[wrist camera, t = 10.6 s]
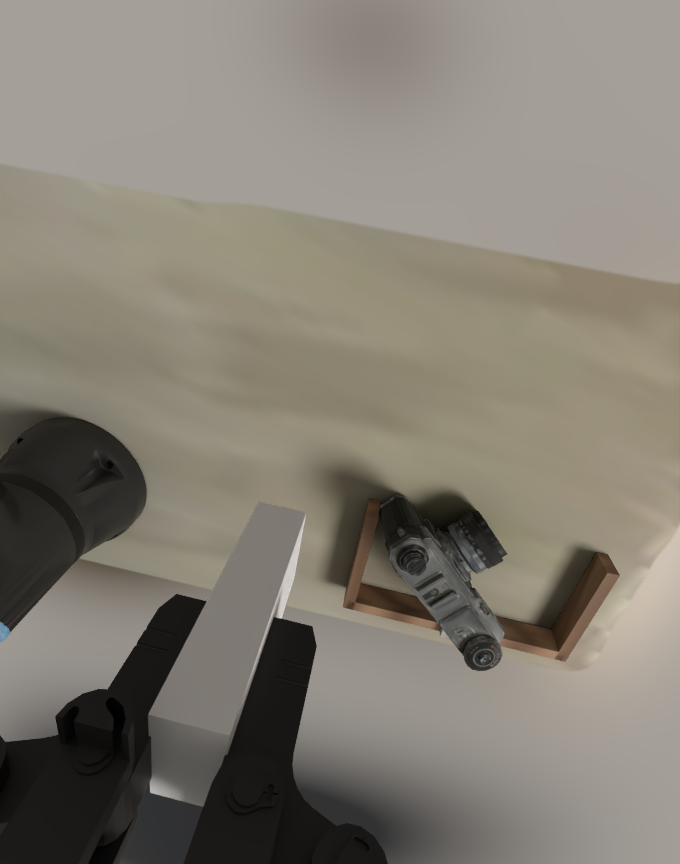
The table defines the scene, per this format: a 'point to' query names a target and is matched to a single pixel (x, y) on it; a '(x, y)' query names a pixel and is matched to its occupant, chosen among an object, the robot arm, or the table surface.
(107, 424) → the table surface
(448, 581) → the camera
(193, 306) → the table surface
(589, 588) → the dock
